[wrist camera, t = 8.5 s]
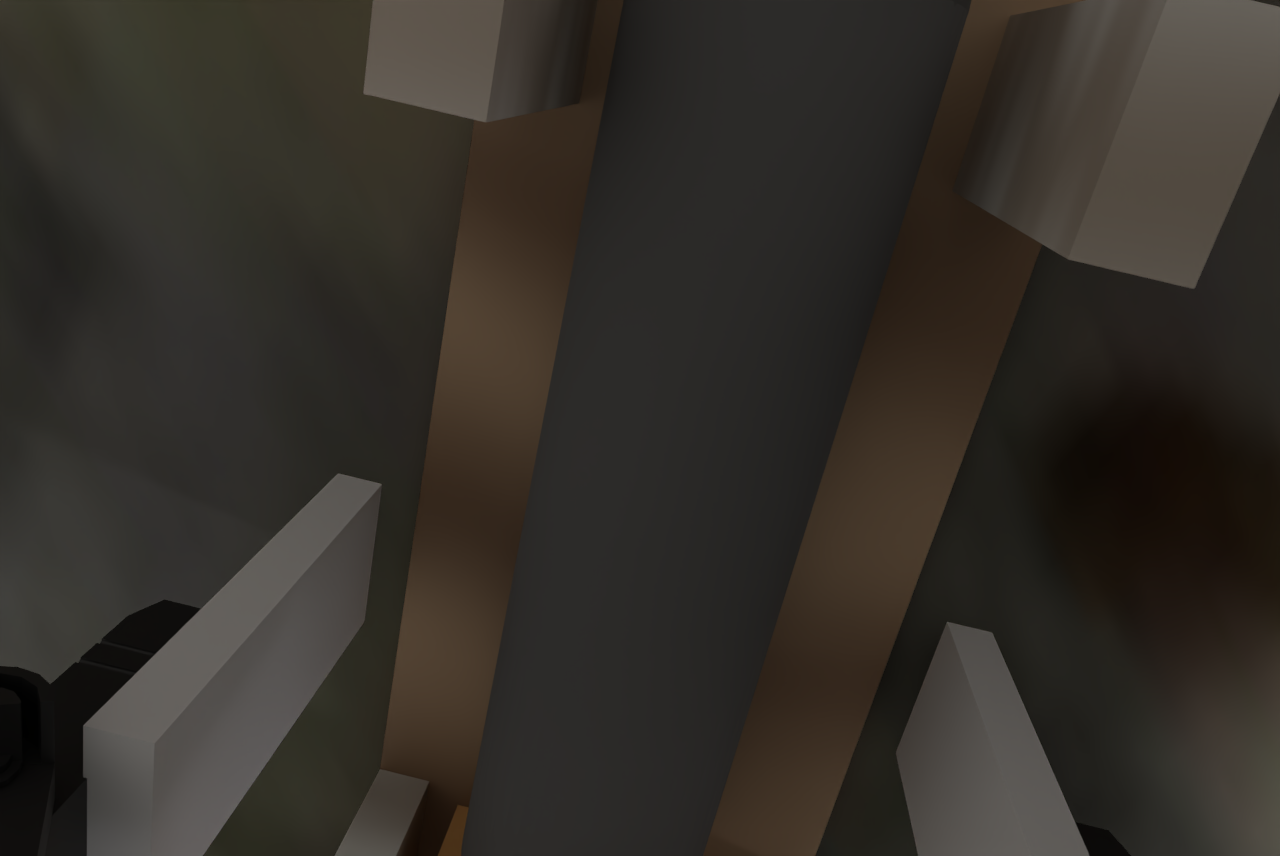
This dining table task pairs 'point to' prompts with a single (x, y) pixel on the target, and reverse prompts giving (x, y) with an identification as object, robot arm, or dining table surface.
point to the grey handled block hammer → (695, 404)
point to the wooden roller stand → (885, 375)
